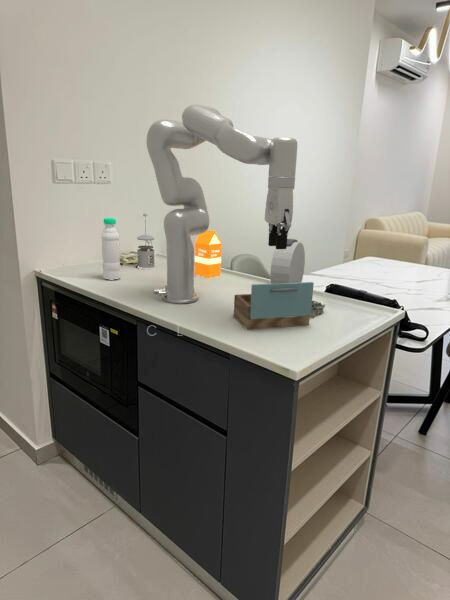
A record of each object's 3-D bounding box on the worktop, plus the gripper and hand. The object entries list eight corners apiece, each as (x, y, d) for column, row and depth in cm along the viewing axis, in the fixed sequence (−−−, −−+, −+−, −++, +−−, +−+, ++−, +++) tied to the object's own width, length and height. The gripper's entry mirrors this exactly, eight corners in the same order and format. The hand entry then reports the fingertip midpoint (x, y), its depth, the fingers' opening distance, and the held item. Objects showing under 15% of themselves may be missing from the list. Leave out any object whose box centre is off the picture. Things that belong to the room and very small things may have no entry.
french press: (132, 268, 205) (130, 213, 198) (141, 263, 216) (139, 211, 209) (152, 270, 203) (152, 214, 196) (160, 265, 214) (160, 212, 207)
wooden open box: (247, 329, 130) (248, 306, 128) (233, 315, 142) (234, 294, 140) (308, 325, 136) (310, 303, 134) (291, 312, 148) (292, 291, 146)
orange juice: (207, 272, 202) (208, 228, 196) (220, 276, 196) (222, 230, 190) (194, 275, 196) (194, 229, 191) (208, 278, 190) (209, 231, 185)
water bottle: (124, 278, 185) (122, 218, 179) (111, 281, 180) (109, 219, 173) (112, 276, 189) (110, 216, 182) (99, 279, 183) (96, 217, 176)
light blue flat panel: (252, 319, 127) (254, 286, 124) (250, 317, 129) (251, 284, 126) (312, 315, 132) (315, 283, 130) (309, 314, 134) (312, 281, 131)
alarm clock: (286, 281, 189) (289, 235, 184) (303, 284, 186) (307, 237, 181) (269, 292, 171) (272, 241, 165) (287, 295, 168) (291, 243, 162)
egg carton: (310, 320, 142) (311, 307, 140) (290, 314, 146) (291, 302, 145) (326, 312, 149) (328, 301, 148) (307, 307, 154) (308, 296, 153)
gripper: (258, 182, 133) (255, 243, 138) (281, 184, 117) (276, 252, 122) (281, 183, 135) (277, 242, 140) (306, 185, 119) (301, 252, 124)
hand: (277, 246), depth 131 cm, fingers open, 4 cm apart
